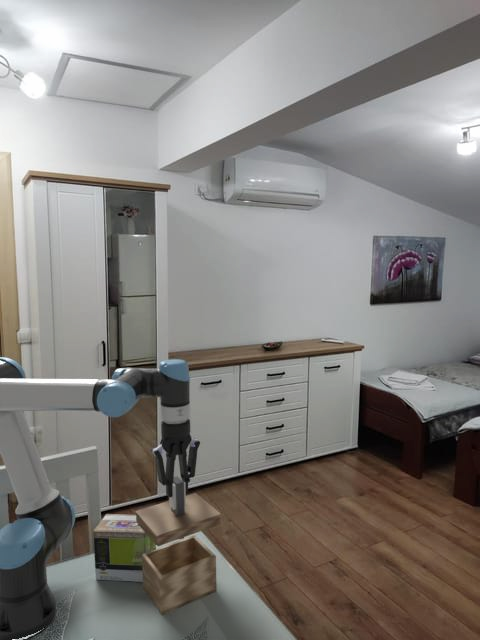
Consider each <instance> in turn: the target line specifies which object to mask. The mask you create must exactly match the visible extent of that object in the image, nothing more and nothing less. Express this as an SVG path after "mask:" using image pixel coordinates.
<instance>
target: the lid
mask: <svg viewBox="0 0 480 640" xmlns="http://www.w3.org/2000/svg"><path fill="white" fill-rule="evenodd" d="M181 479H182V478H181V477H178V476H174V479H173V483H174V484H175V485H176V509H175V510H173V509H172V508H171V507H170V506H169V500H167V501H164V502H161V503H157V504H155V505H150V506H148V507H143V508H140V509H138V510H135V511H134V513H135V514H134V515H136V521H137V523H138V525H139V526H140V527H141V528H142V529H143V531H144V532H145V533H146V534H147V535H148V536H149V538H150V539H151V540H152V541H153V542H154V544H155V545H156V547H160V546H161V547H162V546H163V545H167V544H168V543H169V544H170V543H171V542H172V543H173V542H176V540H177V541H178V540H180V539H184V538H187V537H188V536H189V537H190V536H192V535H194V534H197V533H199V532H202V531H203V532H204V531H206V530H208V529H211V528H214V527H216V526H219V525H221V518H222V514H221V513H220V511H218V510H217V509H216V508H215V507H214V506H213V505H211V504H210V503H209V502H207V501H206V500H205V499H204V498H203V497H201V496H200V495H199V494H197V492H194V493H191V494H187V495H186V506H185V507H184V482H183V481H182V480H181Z"/></svg>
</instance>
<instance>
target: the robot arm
mask: <svg viewBox="0 0 480 640" xmlns="http://www.w3.org/2000/svg"><path fill="white" fill-rule="evenodd" d="M189 370H190V369H189V363H188V362H187V361H186V360H183V359H178V358H177V359H176V358H173V359H172V358H171V359H165V360H162V361H160V363H159V365H158V367H156V368H153V367H151V368H149V367H131V366H130V367H121V368H116V369H115V370H114V371H113V374H112V376H111V378H107V379H105V378H103V379H100V378H99V379H98V378H97V379H96V378H94V379H93V378H26V377H27V376H26V372H25V370H24V368H23V367H22V366H21V365H20V364H19V363H18V362H17V361H16V360H14V359H12V358H9V357H4V356H0V456H1V459H2V461H3V464H4V467H5V469H6V471H7V475H8V477H9V480H10V483H11V486H12V489H13V491H14V494H15V497H16V499H17V502H18V504H17V507H16V509H15V510H14V512H15V515H16V518H17V519H16V520H14V521H13V522H12V523H10V522H8V523H7V524H5V525H3V527H1V528H0V640H12V639H19V638H22V637H26V636H28V635H31V634H34V633H36V632H38V631H40V630H42V629H43V628H45V627H46V626H48V625H49V624H50V623H52V622H53V621H54V619H55V618H56V614H57V604H56V603H57V602H56V599H55V596H54V594H53V592H52V590H51V588H50V586H49V583H48V579H47V563H48V561H49V560H50V558H51V557H52V556H53V554H54V553H55V552H56V551H57V549H58V547H60V545H61V544H62V543H63V542H64V541H65V540H66V539H67V537H68V536H69V535H70V533H71V531H72V529H73V528H74V526H75V523H76V522H75V521H76V510H75V507H74V505H73V503H72V502H71V501H70V500H69V498H68V499H67V498H66V497H65V496H63V495H61V493H60V491H59V490H58V489H55V488H53V487H52V486H51V483H50V480H49V478H48V474H47V473H46V469H45V467H44V465H43V462H42V459H41V456H40V453H39V451H38V448H37V445H36V442H35V439H34V436H33V433H32V431H31V429H30V425H29V423H28V420H27V418H26V415H25V412H81V413H82V412H83V413H84V412H86V413H87V412H88V413H90V412H92V413H93V412H98V413H101V414H103V415H105V416H107V417H108V418H119V417H121V416H123V415H125V414H127V413H128V412H129V411H130V410H131V409H133V407H134V406H135V405H136V404H137V403H138V402H140V400H141V399H143V398H160V399H159V400H160V419H161V422H160V431H161V432H160V434H161V440H160V441H159V445H157V447H152V448H151V450H150V451H151V453H152V455H153V457H154V461H155V467H156V474H157V478H158V482H159V483H160V484H161V485H162V486H164V487H165V494H166V496H167V497H168V501H169V506H170V507H171V508H172V509H173V510H175V509H176V485H175V484H174V483H173V479H174V477H175V476H174V475H175V466H176V465H175V464H176V463H175V462H176V460H177V457H178V466H179V472H180V479H181V480H182V481H183V482H184V507H185V506H186V496H187V495H186V493H188V492H189V483H190V482H191V479H192V478H194V477H195V475H196V466H197V458H198V449H199V448H200V444H201V442H200V441H199V439H197V438H195V437H194V438H193V437H192V436H191V420H190V417H191V409H190V408H191V404H190V400H191V399H190V380H191V378H190V371H189ZM188 448H189V449H188ZM187 449H188V451H187ZM163 450H164V451H165V457H166V460H165V462H166V463H164V457H163ZM187 452H188V453H187ZM187 457H188V458H187ZM50 625H51V624H50ZM50 625H49V626H50ZM49 626H48V627H49Z"/></svg>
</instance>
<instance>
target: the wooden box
mask: <svg viewBox="0 0 480 640" xmlns="http://www.w3.org/2000/svg"><path fill="white" fill-rule="evenodd" d="M142 566H143V582H142V589H143V590H144V592H145V593H146V595H147V597H148V598H149V600H151V602H152V604H153V605H154V606H155V608H156V609H157V611H158V613H159V614H160V615H161V616H164V615H166V614H169V613H170V612H172V611H174V610H177V609H179V608H182V607H184V606H185V605H188V604H190V603H193V602H194V601H198V600H199V599H202V598H204V597H207V596H209V595H210V594H213V593H215V592H217V589H218V588H217V556H216V554H214V553H213V552H212V551H211V550H210V549H209V547H207V546H206V544H205V543H203V542H202V541H201V540H200V539H199V538H198V537H197V536H196V535H194V534H193V535H190V536H189V537H188V536H187V537H185V538H182V539H181V540H180V539H179V540H177V541H173V542H172V543H169V544H165V545H164V546H163V545H162V546H161V547H160V546H159V547H158V548H156V549H155V550H152V551H149V552H146V553H144V554H142Z"/></svg>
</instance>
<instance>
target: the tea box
mask: <svg viewBox="0 0 480 640" xmlns="http://www.w3.org/2000/svg"><path fill="white" fill-rule="evenodd" d="M92 533H93V552H94V553H93V554H94V569H95V571H94V572H95V580H99V581H101V580H103V581H120V582H121V581H122V582H139V583H143V566H142V554H144V553H146V552H149V551H152V550H155V549H157V545H155V544H154V542H153V541H152V540H151V539H150V538H149V536H148V535H147V534H146V533H145V532H144V531H143V529H142V528H141V527H140V526H139V525H138V523H137V521H136V514H124V513H123V514H120V513H119V514H118V513H117V514H114V513H113V514H112V513H106V514H105V515H104V517H103V518H102V519H101V520H100V522H99V523H98V525H96V527H95V528H94V529H93V531H92Z"/></svg>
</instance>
